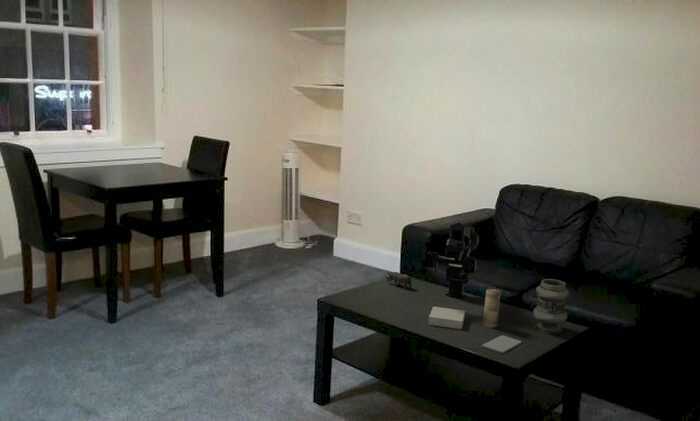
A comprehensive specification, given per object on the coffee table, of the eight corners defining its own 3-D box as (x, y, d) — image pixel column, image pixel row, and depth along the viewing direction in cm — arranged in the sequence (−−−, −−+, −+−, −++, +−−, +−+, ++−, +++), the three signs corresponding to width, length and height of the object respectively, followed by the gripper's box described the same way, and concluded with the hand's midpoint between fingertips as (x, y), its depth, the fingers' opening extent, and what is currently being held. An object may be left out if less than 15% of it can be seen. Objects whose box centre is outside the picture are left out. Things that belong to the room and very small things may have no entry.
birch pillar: (486, 321, 251) (490, 288, 248) (499, 325, 248) (503, 291, 245) (480, 324, 247) (483, 291, 244) (492, 328, 244) (496, 294, 241)
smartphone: (523, 341, 232) (503, 352, 221) (522, 344, 232) (502, 355, 221) (501, 334, 237) (480, 345, 226) (501, 337, 238) (480, 347, 226)
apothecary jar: (524, 324, 250) (529, 278, 246) (550, 321, 255) (556, 276, 251) (545, 336, 239) (551, 288, 235) (572, 333, 244) (578, 285, 240)
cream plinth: (432, 314, 255) (433, 306, 255) (464, 318, 253) (465, 310, 252) (428, 324, 244) (428, 316, 243) (461, 329, 241) (462, 321, 241)
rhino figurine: (387, 281, 294) (388, 268, 293) (413, 288, 286) (414, 275, 285) (381, 283, 291) (382, 269, 290) (407, 290, 283) (408, 277, 282)
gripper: (432, 231, 265) (422, 251, 252) (479, 238, 259) (472, 258, 246) (431, 256, 270) (422, 276, 257) (478, 262, 264) (471, 283, 251)
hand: (446, 273), depth 253 cm, fingers open, 9 cm apart
